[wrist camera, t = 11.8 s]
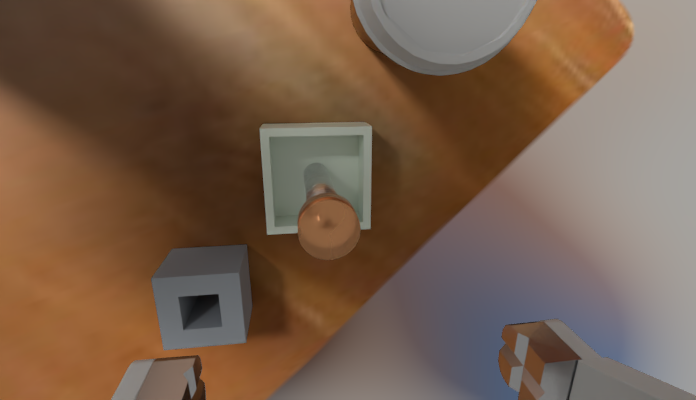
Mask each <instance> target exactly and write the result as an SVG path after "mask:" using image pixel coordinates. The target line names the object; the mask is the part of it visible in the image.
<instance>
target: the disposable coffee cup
mask: <svg viewBox="0 0 696 400" xmlns="http://www.w3.org/2000/svg"><path fill="white" fill-rule="evenodd" d="M536 1H537V0H351V5H350V10H351V18H352V22H353V26H354V28H355V30H356V32H357V34H358V35H359V37H360V38H361V39H362V41H363V42H364V43H365V44H366V45H367V46H369V47H370V48H372V49H373V50H375V51H378V52H381V53H384V54H385V55H386V56H388V57H389V58H390V59H392V60H393V61H394V62H396V63H397V64H399V65H401V66H403V67H405V68H407V69H409V70H412V71H414V72H418V73H422V74H429V75H438V76H443V75H451V74H458V73H462V72H465V71H468V70H471V69H473V68H475V67H477V66H479V65H482V64H484V63H485V62H487V61H488V60H490V59H491V58H492V57H494V56H495V55H497V54H498V53H499V52H500V51H501V50H502V49H503V48H504V47H505V46H506V45H507V44H508V43H509V42H510V41H511V39H512V38H513V37H514V36H515V35H516V33H517V32H518V30H519V29H520V28H521V27H522V26H523V24H524V23H525V21H526V19H527V18H528V16H529V15H530V13H531V11H532V9H533V7H534V5H535V3H536Z"/></svg>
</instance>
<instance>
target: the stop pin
mask: <svg viewBox="0 0 696 400" xmlns="http://www.w3.org/2000/svg"><path fill="white" fill-rule="evenodd" d="M304 184H305V193H306V202H305V203H304V204H303V206H302V207H301V209H300V211H299V214H298V221H297V224H298V238H299V241H300V244H301V245H302V247H303V248H304V250H305V251H306V252H307V253H309V254H310V255H311V256H313V257H315V258H318V259H322V260H334V259H338V258H341V257H343V256H345V255H346V254H348V253H349V252H350V251H352V249H353V248H354V247H355V246H356V244H357V242H358V240H359V238H360V232H361V226H360V222H359V219H358V217H357V214H356V212H355V210H354V208H353V206H352V205H351V203H350V202H349V201H348V200H347V199H345V198H344V197H342V196H340V195H338V194H336V191H335V188H334V186H333V183H332V180H331V178H330V175H329V172H328V170H327V168H326V167H325V166H324V165H323V164H321V163H311V164H309V165H308V166H307V167H306V168H305V170H304Z"/></svg>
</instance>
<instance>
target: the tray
mask: <svg viewBox="0 0 696 400" xmlns="http://www.w3.org/2000/svg"><path fill="white" fill-rule="evenodd" d="M259 130H260V144H261V157H262V171H263V185H264V198H265V212H266V226H267V235H272V234H290V233H298V224H297V221H298V214H299V211H300V209H301V207H302V206H303V204H304V203H305V202H306V193H305V184H304V170H305V168H306V167H307V166H308V165H309V164H311V163H321V164H323V165H324V166H325V167H326V168H327V170H328V172H329V175H330V178H331V180H332V183H333V186H334V188H335V191H336V194H338V195H340V196H342V197H344V198H345V199H347V200H348V201H349V202H350V203H351V205H352V206H353V208H354V210H355V212H356V214H357V217H358V219H359V222H360V226H361V230H362V229H371V167H372V126H371V125H369V124H368V123H366V122H330V123H278V124H262V125H261V127H260V128H259Z"/></svg>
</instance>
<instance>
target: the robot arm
mask: <svg viewBox="0 0 696 400" xmlns="http://www.w3.org/2000/svg"><path fill="white" fill-rule="evenodd" d="M502 339H503V340H504V341H505V345H504V346H503V347H502V348H501V349H500V351H499V360H498V362H499V367H500V372H501V374H502V376H503V378H504V380H505V382H506V383H507V385H508V386H509V387H510V388H512V389H514V390H515V391H517V392H519V396H518V400H696V396H695V395H692V394H690V393H688V392H686V391H683V390H681V389H679V388H676V387H674V386H672V385H670V384H668V383H665V382H663V381H661V380H658V379H656V378H654V377H651V376H649V375H647V374H645V373H642V372H640V371H638V370H635V369H633V368H631V367H629V366H626V365H624V364H622V363H619V362H617V361H615V360H612V359H610V358H608V357H605V358H602V357H601V356H600V355H598V354H597V353H596V352H595V351H594V350H593V349H592V348H590V346H589V345H587V344H586V343H585V342H584V341H583V340H582V339H581V338H580V337H579V336H578V335H577V334H575V333H574V332H573V331H572V330H571V329H570V328H569V327H568V326H567V325H566V324H564V323H563V322H562V321H560V320H558V319H550V320H543V321H539V322H529V323H520V324H509V325H505V327H504V329H503V332H502ZM201 371H202V364H201V359H200V357H199V356H198V355H195V356H182V357H168V358H157V359H147V360H135V361H134V362H132V363H131V364H130V365H129V367H128V369H127V371H126V373H125V375H124V376H123V378H122V380H121V382H120V384H119V386H118V388H117V390H116V391H115V393H114V395H113V397H112V399H111V400H206V390H205V383H204V382H203V381H202V380H201V379H200V375H201Z"/></svg>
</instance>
